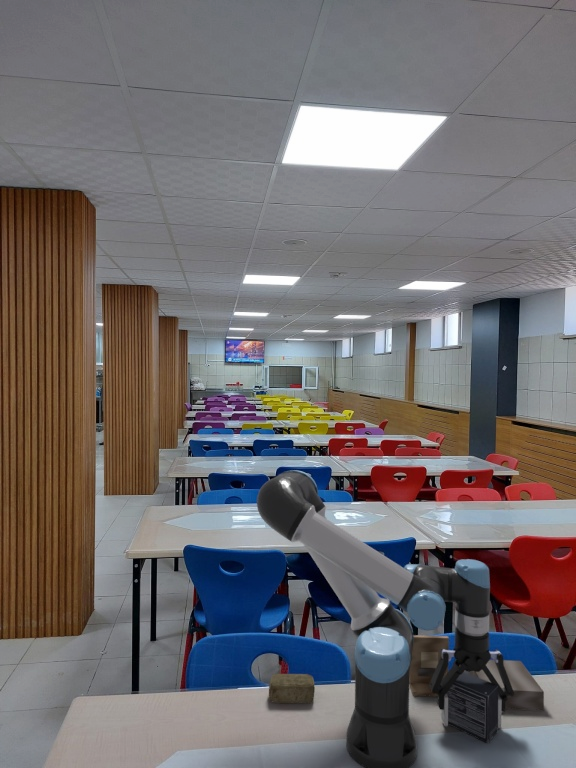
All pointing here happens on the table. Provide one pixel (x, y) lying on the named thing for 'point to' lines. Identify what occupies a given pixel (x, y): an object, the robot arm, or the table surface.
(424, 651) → the stand
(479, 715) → the small box
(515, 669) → the base block
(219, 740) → the table surface
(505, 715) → the table surface
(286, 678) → the stone block
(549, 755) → the table surface
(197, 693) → the table surface
